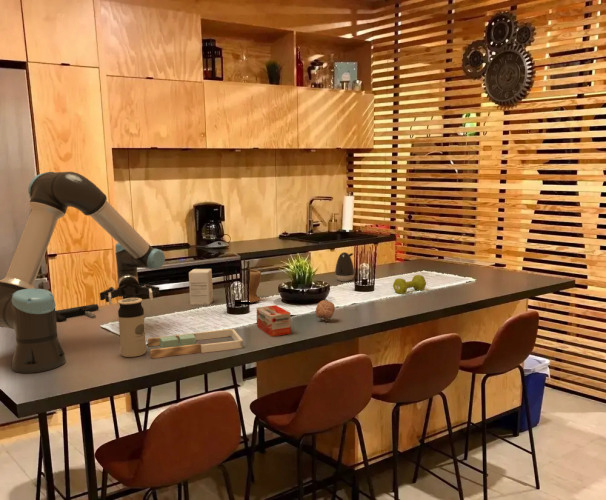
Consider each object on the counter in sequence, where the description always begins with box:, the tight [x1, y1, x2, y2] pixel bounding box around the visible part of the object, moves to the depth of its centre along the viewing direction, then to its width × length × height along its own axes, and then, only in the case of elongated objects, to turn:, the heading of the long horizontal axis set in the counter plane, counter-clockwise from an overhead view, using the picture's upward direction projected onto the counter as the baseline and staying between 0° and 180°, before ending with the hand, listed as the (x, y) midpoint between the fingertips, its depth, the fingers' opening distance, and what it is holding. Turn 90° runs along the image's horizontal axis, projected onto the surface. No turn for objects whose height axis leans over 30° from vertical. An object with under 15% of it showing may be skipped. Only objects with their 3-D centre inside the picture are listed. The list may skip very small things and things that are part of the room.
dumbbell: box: [392, 274, 427, 295], centre depth 269 cm, size 16×8×7 cm, turn 125°
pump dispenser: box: [334, 252, 355, 282], centre depth 299 cm, size 10×10×15 cm
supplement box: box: [188, 268, 214, 306], centre depth 255 cm, size 9×9×15 cm
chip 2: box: [178, 333, 197, 346], centre depth 190 cm, size 5×5×4 cm
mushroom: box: [315, 299, 336, 323], centre depth 219 cm, size 8×6×8 cm
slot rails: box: [147, 332, 202, 359], centre depth 189 cm, size 16×14×3 cm
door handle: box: [55, 303, 99, 323], centre depth 237 cm, size 3×20×16 cm
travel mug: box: [117, 297, 147, 358], centre depth 184 cm, size 8×8×18 cm
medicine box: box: [256, 304, 292, 338], centre depth 208 cm, size 15×8×8 cm, turn 25°
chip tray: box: [194, 328, 244, 354], centre depth 194 cm, size 14×16×2 cm
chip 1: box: [159, 335, 179, 348], centre depth 188 cm, size 5×5×4 cm
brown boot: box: [249, 268, 262, 304], centre depth 257 cm, size 15×12×15 cm
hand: (131, 298), depth 192 cm, fingers open, 13 cm apart
